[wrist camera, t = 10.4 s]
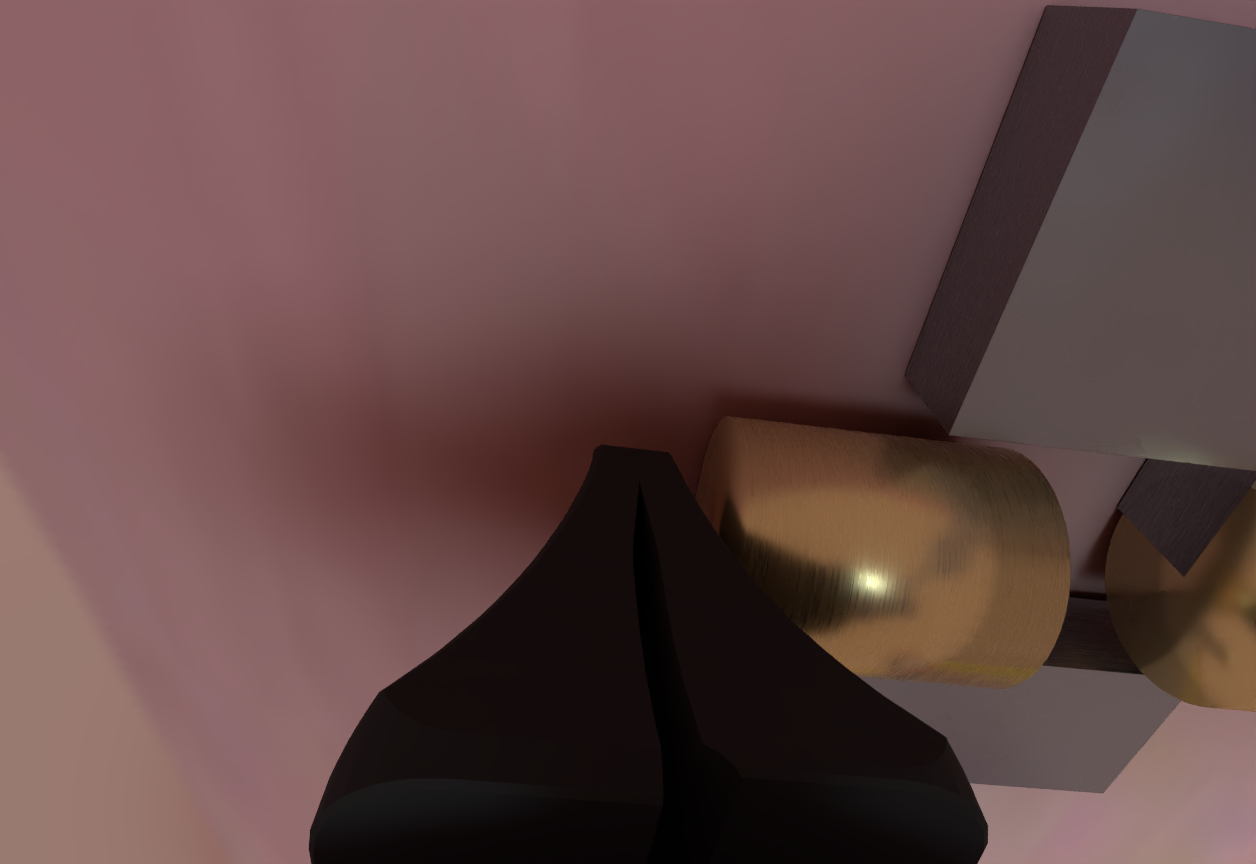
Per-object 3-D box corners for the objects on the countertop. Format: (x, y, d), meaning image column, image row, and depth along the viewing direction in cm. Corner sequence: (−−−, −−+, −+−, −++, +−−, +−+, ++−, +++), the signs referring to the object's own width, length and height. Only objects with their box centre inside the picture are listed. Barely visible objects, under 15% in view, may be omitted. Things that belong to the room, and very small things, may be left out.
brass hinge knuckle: (1253, 437, 13) (1472, 593, 10) (1056, 714, 17) (1161, 890, 14) (723, 374, 12) (763, 518, 9) (652, 680, 17) (660, 857, 13)
